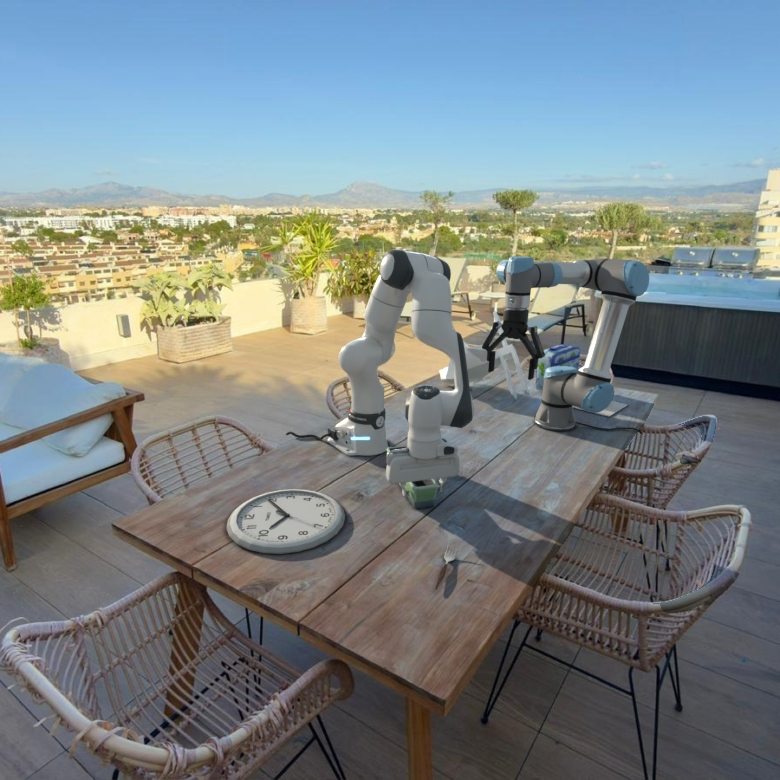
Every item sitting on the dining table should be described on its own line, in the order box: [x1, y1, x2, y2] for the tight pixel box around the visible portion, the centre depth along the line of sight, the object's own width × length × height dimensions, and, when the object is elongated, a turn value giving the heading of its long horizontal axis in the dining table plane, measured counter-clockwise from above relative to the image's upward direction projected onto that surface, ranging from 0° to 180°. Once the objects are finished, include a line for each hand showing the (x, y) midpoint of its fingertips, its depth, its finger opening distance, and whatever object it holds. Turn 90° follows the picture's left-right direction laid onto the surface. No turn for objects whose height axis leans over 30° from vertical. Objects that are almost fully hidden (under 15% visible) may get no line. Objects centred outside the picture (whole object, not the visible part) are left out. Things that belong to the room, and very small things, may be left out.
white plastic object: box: [438, 310, 531, 400], centre depth 245 cm, size 37×45×31 cm
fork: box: [434, 542, 459, 590], centre depth 116 cm, size 3×16×2 cm, turn 160°
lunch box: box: [535, 344, 581, 392], centre depth 247 cm, size 26×11×21 cm, turn 134°
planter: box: [386, 445, 438, 510], centre depth 152 cm, size 28×7×7 cm, turn 16°
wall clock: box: [226, 488, 346, 555], centre depth 135 cm, size 30×2×30 cm
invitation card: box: [573, 400, 629, 418], centre depth 226 cm, size 21×1×15 cm
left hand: (422, 493), depth 143 cm, fingers open, 8 cm apart
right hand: (510, 375), depth 167 cm, fingers open, 13 cm apart
